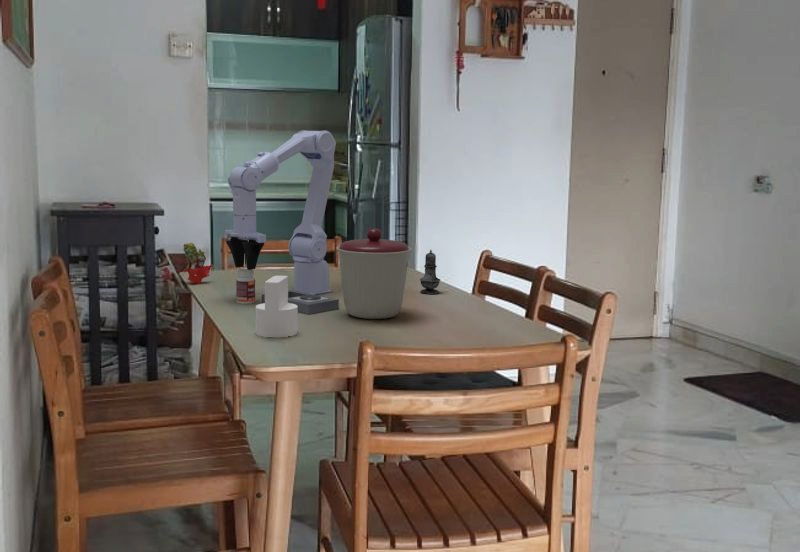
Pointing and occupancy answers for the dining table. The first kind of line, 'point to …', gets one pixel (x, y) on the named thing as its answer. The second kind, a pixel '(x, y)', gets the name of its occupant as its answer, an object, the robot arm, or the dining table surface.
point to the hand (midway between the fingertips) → (245, 268)
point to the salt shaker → (430, 275)
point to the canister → (373, 275)
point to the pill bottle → (245, 287)
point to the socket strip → (310, 302)
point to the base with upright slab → (276, 310)
